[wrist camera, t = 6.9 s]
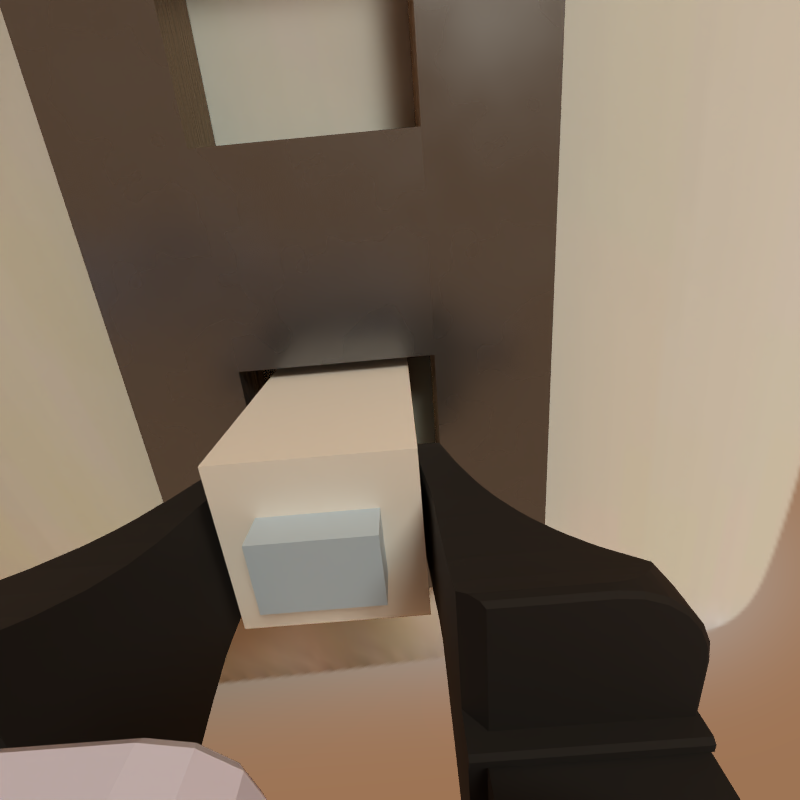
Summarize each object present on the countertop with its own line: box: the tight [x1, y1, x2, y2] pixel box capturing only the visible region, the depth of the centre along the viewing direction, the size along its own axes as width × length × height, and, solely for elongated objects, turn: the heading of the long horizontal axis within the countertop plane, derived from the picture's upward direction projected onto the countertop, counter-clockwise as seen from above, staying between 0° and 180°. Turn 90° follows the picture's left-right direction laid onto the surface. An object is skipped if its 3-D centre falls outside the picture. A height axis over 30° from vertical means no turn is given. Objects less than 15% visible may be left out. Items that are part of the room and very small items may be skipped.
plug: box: [198, 357, 431, 629], centre depth 11 cm, size 4×4×7 cm
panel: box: [0, 0, 565, 587], centre depth 12 cm, size 12×22×2 cm, turn 5°
